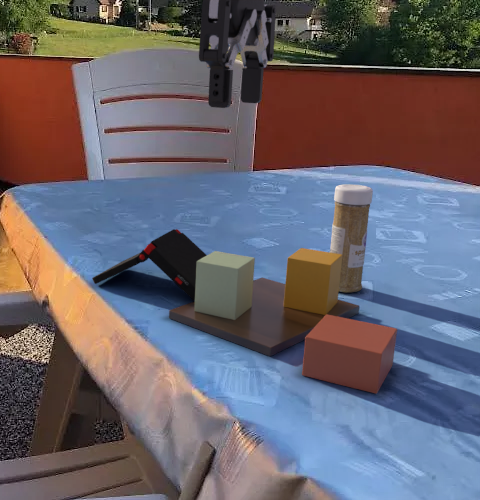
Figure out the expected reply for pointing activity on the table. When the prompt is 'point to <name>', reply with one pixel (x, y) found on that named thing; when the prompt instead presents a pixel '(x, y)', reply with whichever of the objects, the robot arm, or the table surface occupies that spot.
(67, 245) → the table surface
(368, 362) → the base block
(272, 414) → the table surface
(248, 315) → the board
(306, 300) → the top block
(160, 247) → the handheld gaming console
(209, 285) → the middle block
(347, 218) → the spice jar
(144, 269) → the table surface
